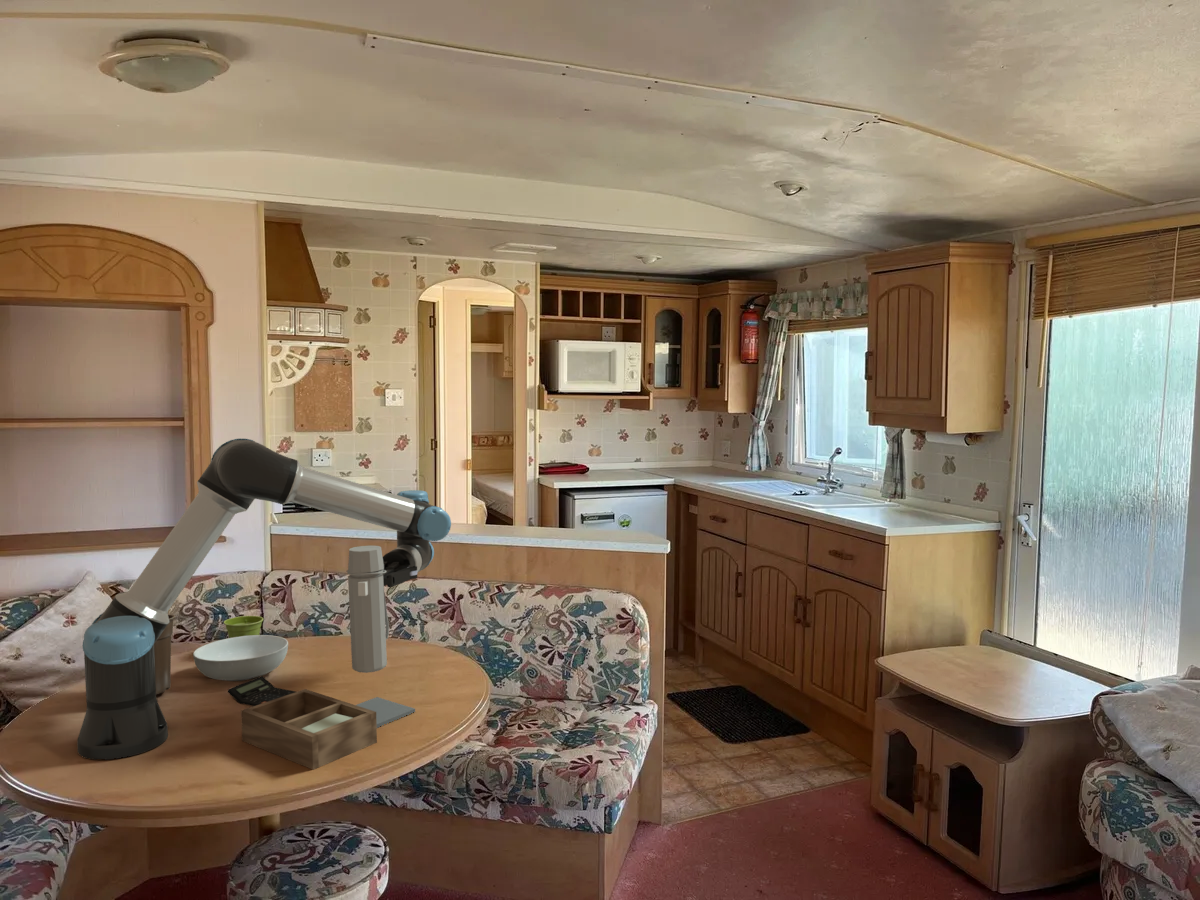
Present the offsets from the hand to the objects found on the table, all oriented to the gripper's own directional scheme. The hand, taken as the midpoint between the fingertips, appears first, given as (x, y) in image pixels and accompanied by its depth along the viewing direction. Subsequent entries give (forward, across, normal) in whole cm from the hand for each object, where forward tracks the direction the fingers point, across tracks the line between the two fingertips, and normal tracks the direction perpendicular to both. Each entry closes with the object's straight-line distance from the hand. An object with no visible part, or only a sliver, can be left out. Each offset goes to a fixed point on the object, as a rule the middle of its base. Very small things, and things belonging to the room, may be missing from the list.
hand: (361, 589), depth 170 cm
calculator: (-13, +28, -28) cm, 42 cm away
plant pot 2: (-44, +49, -28) cm, 71 cm away
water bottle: (-5, 0, -18) cm, 19 cm away
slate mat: (-5, 0, -28) cm, 28 cm away
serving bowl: (-27, +41, -28) cm, 57 cm away
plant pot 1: (-11, +56, -27) cm, 63 cm away
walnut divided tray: (+9, +8, -28) cm, 30 cm away
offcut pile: (+12, +3, -28) cm, 31 cm away
